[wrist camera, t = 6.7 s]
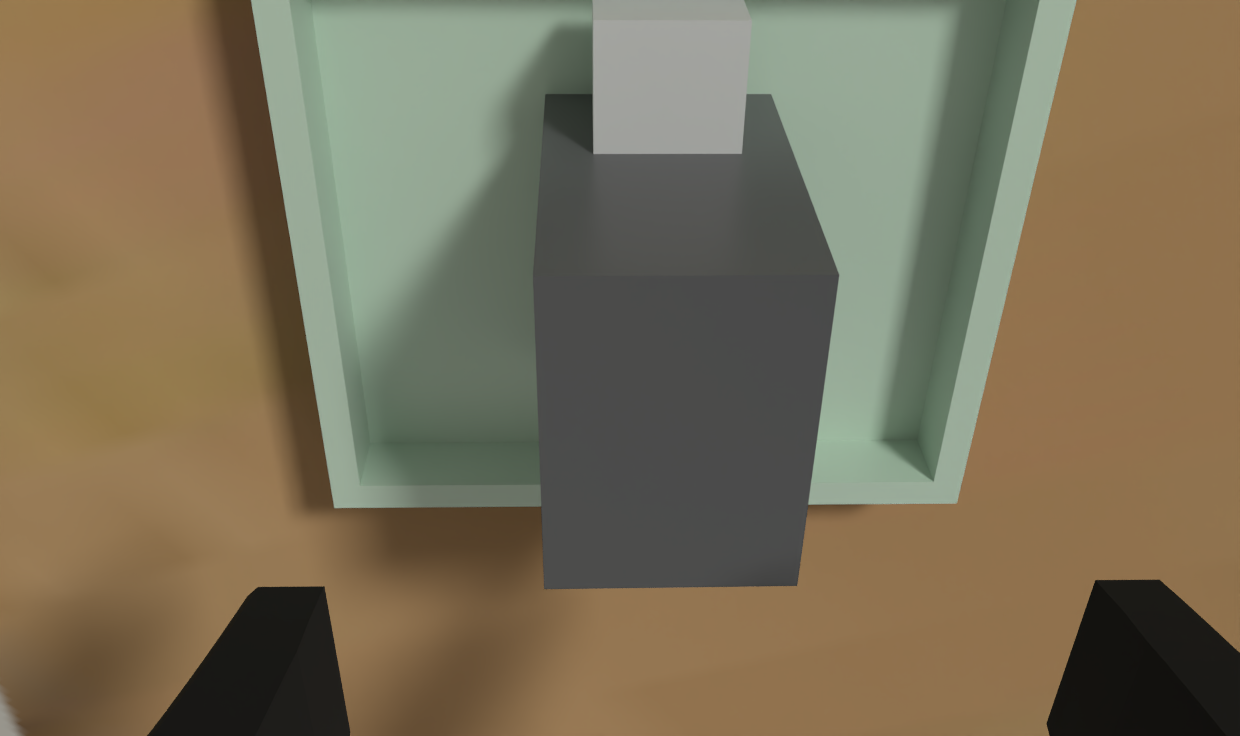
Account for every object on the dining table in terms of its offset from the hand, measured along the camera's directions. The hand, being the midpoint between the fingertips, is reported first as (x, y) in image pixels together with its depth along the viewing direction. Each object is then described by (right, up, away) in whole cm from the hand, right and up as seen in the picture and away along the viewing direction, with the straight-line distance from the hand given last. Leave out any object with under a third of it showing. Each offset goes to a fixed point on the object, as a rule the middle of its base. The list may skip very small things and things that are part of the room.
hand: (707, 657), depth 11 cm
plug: (0, +5, +8) cm, 9 cm away
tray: (0, +6, +8) cm, 10 cm away
